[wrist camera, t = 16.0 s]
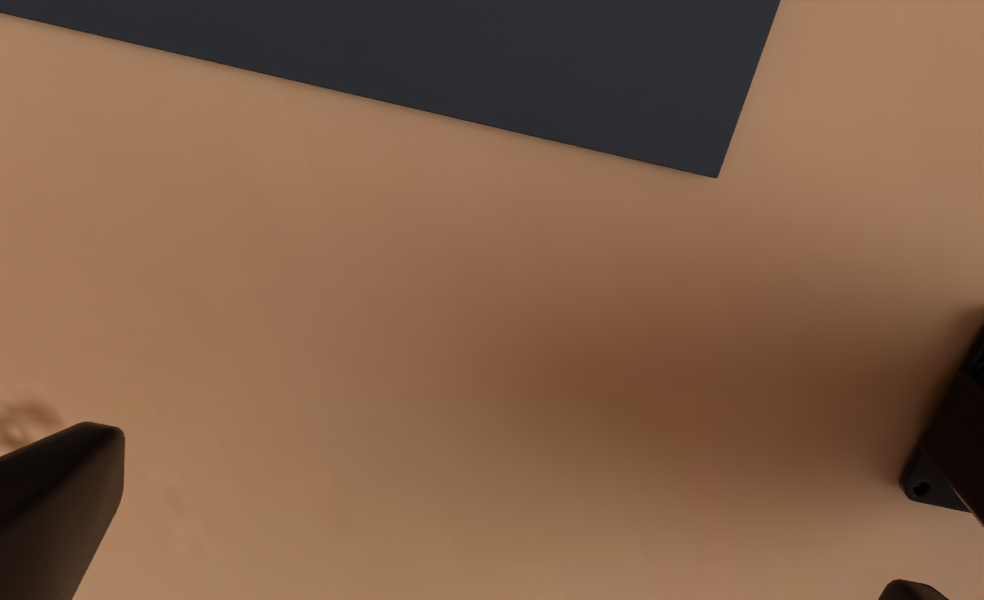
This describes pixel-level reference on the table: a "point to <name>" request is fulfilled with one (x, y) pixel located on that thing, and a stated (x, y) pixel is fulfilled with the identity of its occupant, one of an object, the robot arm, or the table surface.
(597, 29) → the desk mat
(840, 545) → the table surface
